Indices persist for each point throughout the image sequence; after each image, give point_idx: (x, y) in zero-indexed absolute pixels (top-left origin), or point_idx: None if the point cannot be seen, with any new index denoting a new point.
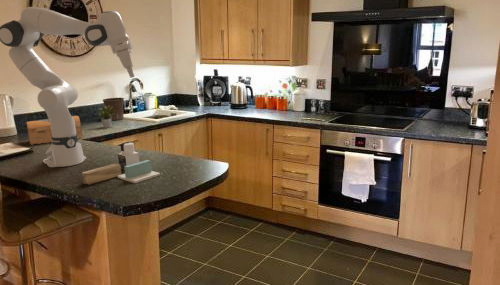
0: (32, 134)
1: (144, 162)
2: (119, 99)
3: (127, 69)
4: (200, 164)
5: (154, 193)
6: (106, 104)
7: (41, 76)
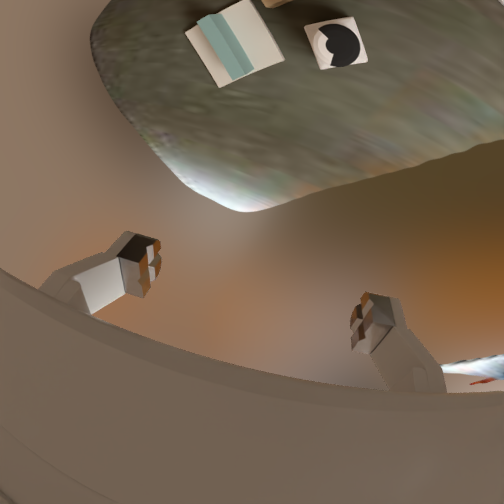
0: None
1: (222, 63)
2: None
3: (51, 282)
4: (260, 180)
5: (123, 65)
6: None
7: None
